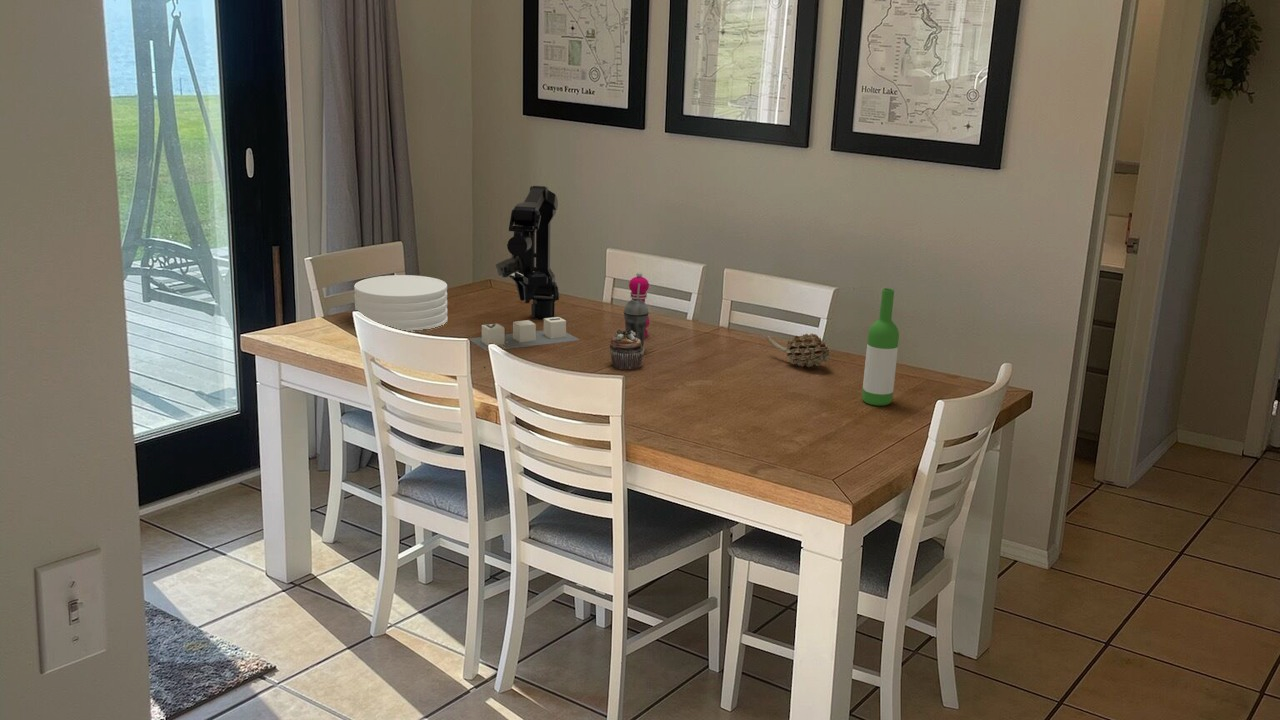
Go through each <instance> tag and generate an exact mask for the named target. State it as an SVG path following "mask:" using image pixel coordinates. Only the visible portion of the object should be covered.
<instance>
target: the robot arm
mask: <svg viewBox="0 0 1280 720" xmlns="http://www.w3.org/2000/svg"><path fill="white" fill-rule="evenodd" d="M558 207H559V203H558V197H557V195H556V193H554V192H553V191H551V190H549V188H548V186H544V185H531V186H530V188H529V192H528V194H527V196H526V197H525V199H524V201H523V202H520V203H517V204H516V205H515V206H514V207H513V209H512V210H511V213H510V220H509V225H508V232H513V236H512V237H511V238H509V240H508V241H507V245H506V248H507V250H508V252H509V254H511V257H510V258H507V259H504V260H502V261H500V262H497V263H496V264H495V268H496V270H497V274H498V276H501V277H502V278H508V277H509V278H510V279H511V280H512V281H513V282H514V283H515V286H516V290H517V293H518V297H519V300H520V301H521V302H523V301H524V302H525V304H530V302H531V301H532V302H531V308H530V309H531V310H530V311H531V313H530V315H529V316H530V317H532V319H535V320H544V318H553V317H556V316H555V302H556V301H559V300H560V292H559V287H558V284H557V282H556V276H555V273H554V272H553V270H552V269H551V223H552V221H553V219H554V218H555V216H556V214H557V213H556V212H557V210H558Z"/></svg>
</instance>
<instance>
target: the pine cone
mask: <svg viewBox="0 0 1280 720" xmlns="http://www.w3.org/2000/svg"><path fill="white" fill-rule="evenodd" d="M767 341H768V343H769V344H770V345H771V346H772V347H774V348H776V349H777V350H779V351H781V352H783V353H785V354H786V356H787V358H788V360H789V361H788V362H789V363H791V365H797V366H798V367H804V366H806V367H808V368H810V367H811V368H812V367H813V366H816V367H819V366H822V365H823V364H824V363H827V362H828V361H829V360H830V359H831V355H830V353H831V349H830V348H829V346H828V344H827V343H825V342H823V340H822V337H819V335H818V334H816V333H815V334H814V333H809V334H808V333H805V334H802V335H799V336H798V335H795V336H794V337H793V338H791V339H789V340H787V343H786V347H783V346H782V345H780V344H778V343H777V342H776V341H775V340H774V339H773V338H771V336H769V335H768V336H767Z"/></svg>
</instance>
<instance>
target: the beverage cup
mask: <svg viewBox="0 0 1280 720" xmlns="http://www.w3.org/2000/svg"><path fill="white" fill-rule="evenodd" d="M639 289H640V284H638V292H637V299H633V300H632V299H630V300H629V301H627V302H626V304H625V306H624V310H623V318H624V321H625V323H624V324H625V331H627V332H628V331H629V330H634V332H635V334H636V335H635V337H636V338H638V339H640V341H641V345H642V347H643V348H644V342H645V338H644V336H645V328H646V321H647V318H648V317H649V313H650V312H649V308H648V305H647V304H646V302H645V303H644V302H643V301H642V300H640V299H639ZM646 329H647V328H646Z"/></svg>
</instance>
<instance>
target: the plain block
mask: <svg viewBox="0 0 1280 720" xmlns="http://www.w3.org/2000/svg"><path fill="white" fill-rule="evenodd" d="M536 327H537V325H536V323H534V322H533V321H531V320H530V319H527V320H517V321H513V322H512V334H513V338H514V339H515V340H517V341H519V342H528V341H536V331H537V330H536V329H537V328H536Z"/></svg>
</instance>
